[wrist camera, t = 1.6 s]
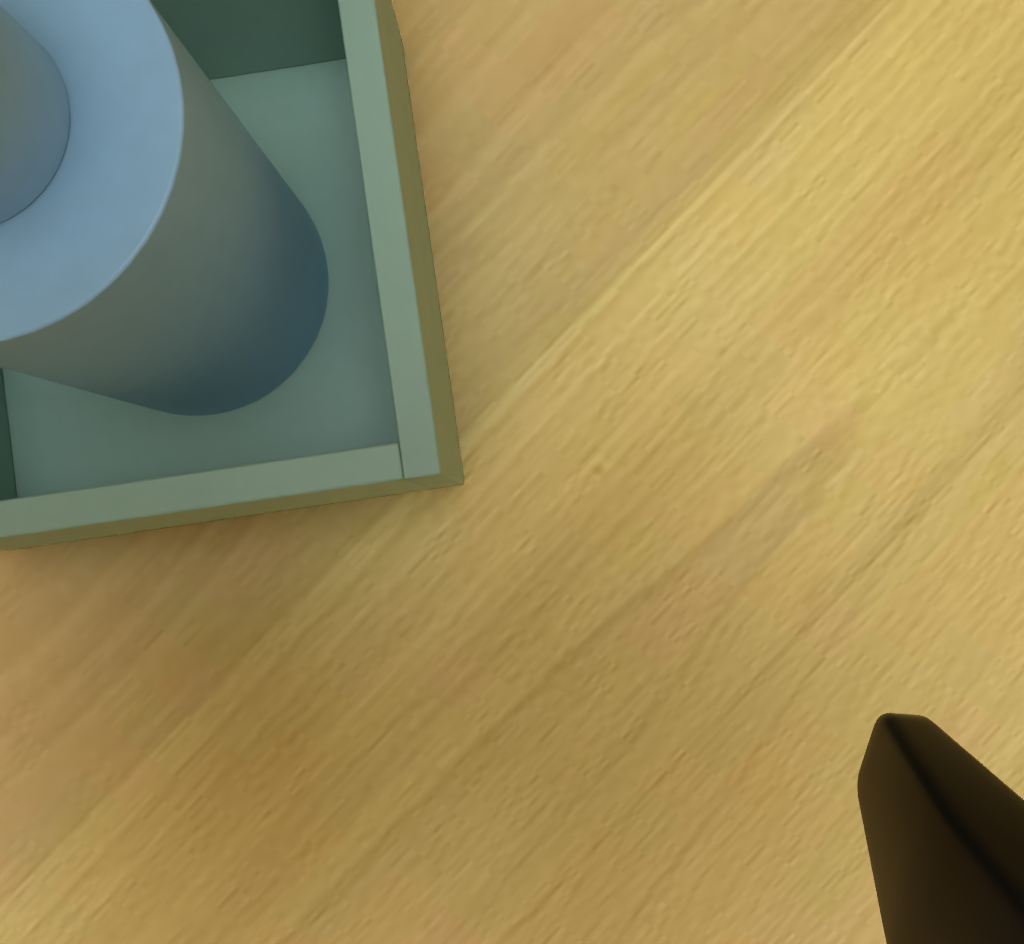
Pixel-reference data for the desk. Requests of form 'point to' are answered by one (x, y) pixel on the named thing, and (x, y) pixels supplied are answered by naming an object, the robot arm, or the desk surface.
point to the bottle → (142, 219)
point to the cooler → (341, 338)
